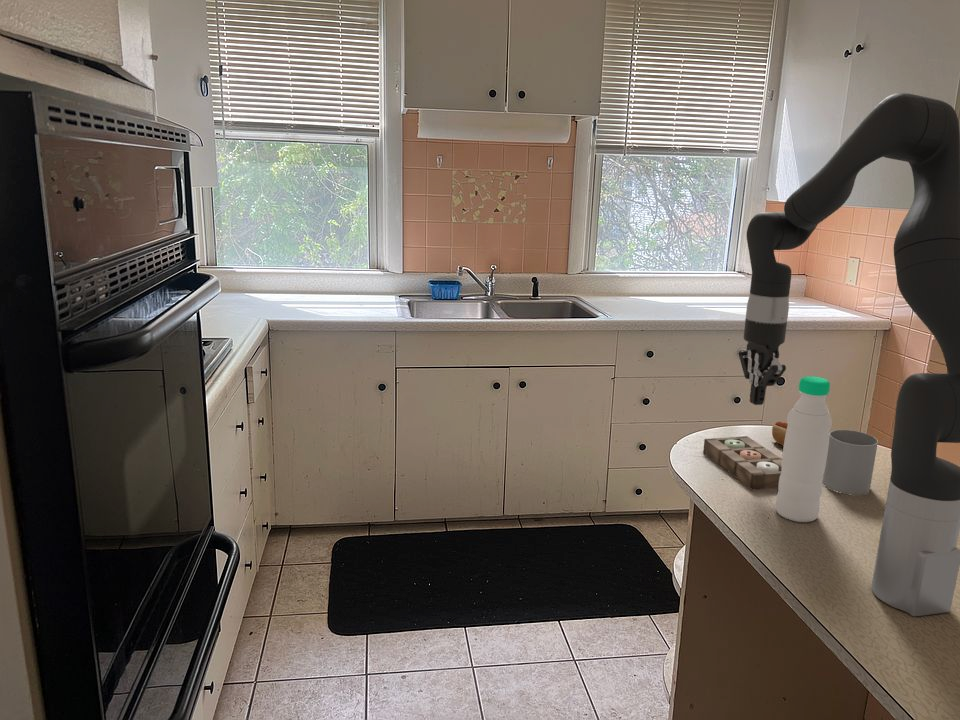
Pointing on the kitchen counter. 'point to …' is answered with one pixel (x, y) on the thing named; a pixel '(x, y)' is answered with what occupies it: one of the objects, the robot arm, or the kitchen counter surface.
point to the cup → (850, 462)
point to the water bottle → (805, 452)
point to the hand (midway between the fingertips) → (756, 403)
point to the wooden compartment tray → (744, 462)
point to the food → (779, 432)
